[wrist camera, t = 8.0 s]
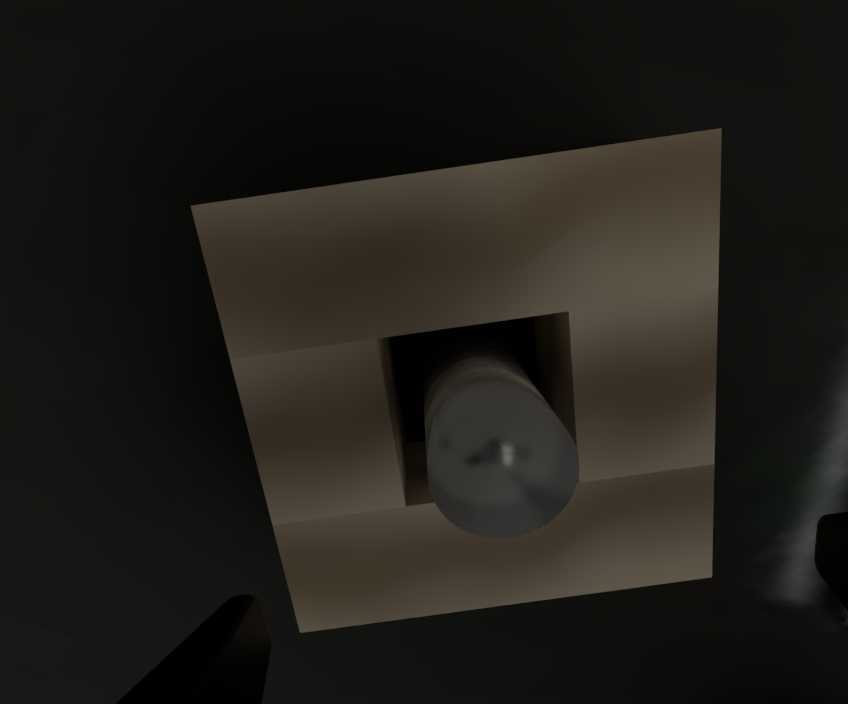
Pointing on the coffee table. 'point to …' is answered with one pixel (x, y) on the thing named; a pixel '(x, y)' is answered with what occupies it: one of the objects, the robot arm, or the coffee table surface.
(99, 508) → the coffee table surface
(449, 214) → the socket board
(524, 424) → the peg
